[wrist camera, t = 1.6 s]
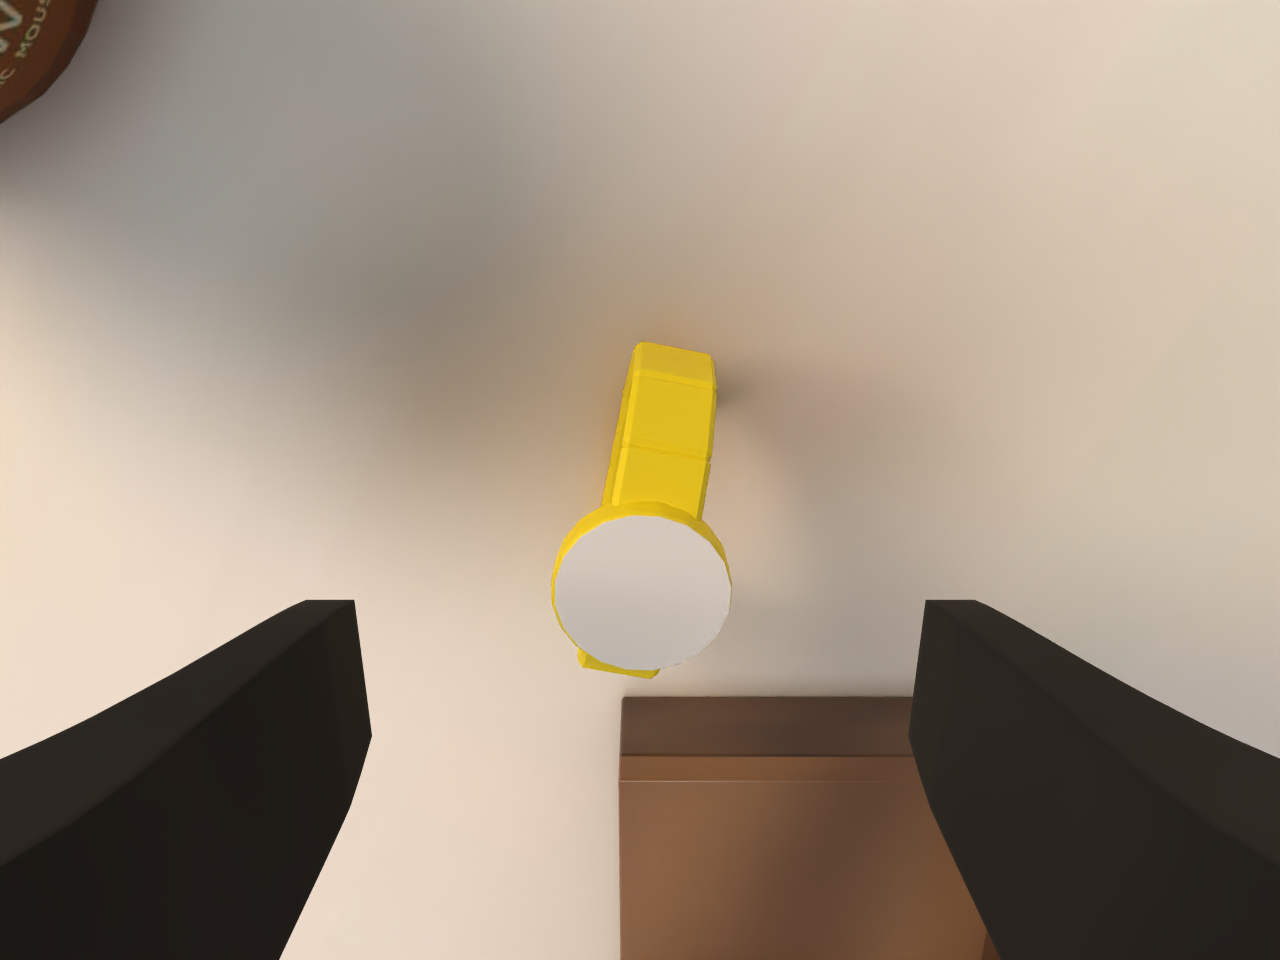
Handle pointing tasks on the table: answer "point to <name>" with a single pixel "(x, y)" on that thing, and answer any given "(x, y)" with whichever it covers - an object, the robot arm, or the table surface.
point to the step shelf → (783, 835)
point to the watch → (649, 528)
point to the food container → (37, 46)
